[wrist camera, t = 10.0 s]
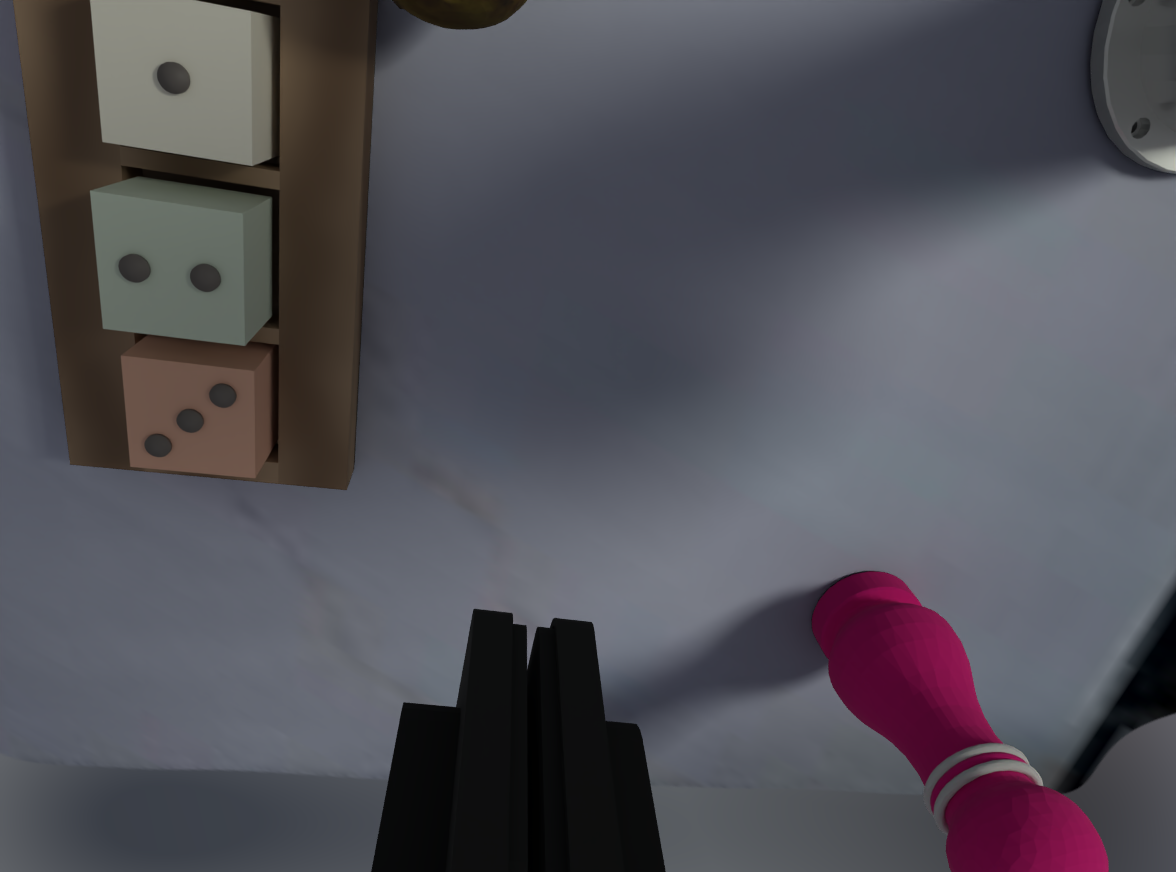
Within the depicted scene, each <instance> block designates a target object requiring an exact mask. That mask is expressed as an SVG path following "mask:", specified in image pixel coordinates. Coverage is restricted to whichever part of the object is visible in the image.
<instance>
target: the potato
mask: <svg viewBox="0 0 1176 872" xmlns="http://www.w3.org/2000/svg"><path fill="white" fill-rule="evenodd" d="M392 1H393V2H394V3H395V4H396V5H397V6H398V7H399V8H400V9H405V10H406V11H407V12H409V13H410V14H412V15H414V16H416V17H417V18H419V19H421V20H423V21H425V22H428V23H430V24H433V25H436V26H440V27H443V28H449V29H480V28H486V27H489V26H493V25H496V24H498V23H501V22H503V21H505V20H507V19H508V18H509V17H510V16H512V15H513V14H514V13H515V12H516V11H517V10H519V9H520V8H521V7H522V6H523V5H524V3H525V2H526V1H527V0H392Z"/></svg>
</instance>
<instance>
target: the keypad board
mask: <svg viewBox="0 0 1176 872" xmlns="http://www.w3.org/2000/svg"><path fill="white" fill-rule="evenodd" d="M196 1H201V2H207V3H212V4H217V5H222V6H227V7H232V8H237V9H243V10H248V11H253V12H257V13H261V14H265V15H269V16H273V17H278V18H280V155H279V156H276V157H274V158H271V159H269V160H266V161H264V162H261V163H259V164H256V165H254V166H249V165H243V164H237V163H231V162H224V161H218V160H212V159H206V158H199V157H193V156H187V155H181V154H175V153H168V152H162V151H156V150H150V149H143V148H137V147H131V146H125V145H118V144H112V143H106V142H102V132H101V120H100V109H99V97H98V86H97V74H96V63H95V51H94V39H93V28H92V16H91V5H90V0H13V4H14V12H15V21H16V29H17V37H18V45H19V53H20V61H21V69H22V77H23V85H24V93H25V102H26V110H27V118H28V126H29V134H30V142H31V150H32V158H33V166H34V175H35V183H36V191H37V199H38V207H39V215H40V223H41V231H42V239H43V248H44V256H45V264H46V272H47V280H48V288H49V296H50V304H51V312H52V320H53V329H54V337H55V345H56V353H57V361H58V369H59V377H60V385H61V393H62V402H63V410H64V418H65V426H66V434H67V442H68V450H69V458H70V465H81V466H92V467H103V468H113V469H124V470H135V471H146V472H157V473H167V474H178V475H189V476H200V477H211V478H221V479H232V480H243V481H254V482H265V483H275V484H286V485H297V486H308V487H319V488H329V489H340V490H347V487H348V485H349V482H350V479H351V476H352V473H353V470H354V463H355V443H356V424H357V404H358V384H359V365H360V345H361V326H362V306H363V287H364V267H365V247H366V228H367V208H368V189H369V169H370V150H371V130H372V111H373V91H374V71H375V52H376V32H377V13H378V0H196ZM137 176H140V177H147V178H153V179H160V180H166V181H173V182H179V183H186V184H192V185H199V186H205V187H212V188H218V189H225V190H231V191H238V192H244V193H250V194H257V195H263V196H270V197H272V317H271V318H270V319H269V320H268V321H267V322H266V323H265V324H264V325H263V327H262V328H261V329H260V330H259V331H258V332H257V333H256V334H255V335H254V336H253V338H252V339H251V340H250V341H252V342H260V343H268V344H276V345H279V433H278V441H277V442H276V444H275V446H274V447H273V449H272V451H271V452H270V454H269V456H268V458H267V459H266V461H265V463H264V464H263V466H262V468H261V470H260V471H259V473H258V475H257V476H256V478H245V477H235V476H224V475H213V474H202V473H192V472H181V471H170V470H160V469H149V468H138V467H130V457H129V445H128V434H127V422H126V410H125V399H124V387H123V376H122V364H121V355H122V354H123V353H125V352H126V351H127V350H129V349H130V348H131V347H133V346H134V345H135V344H136V343H138V342H139V341H140V340H142V339H143V338H144V337H146V336H147V335H148V334H142V333H134V332H126V331H118V330H109V329H103V323H102V312H101V302H100V291H99V281H98V270H97V260H96V250H95V239H94V229H93V218H92V208H91V197H90V191H91V190H94V189H97V188H101V187H104V186H107V185H111V184H114V183H117V182H121V181H124V180H127V179H131V178H134V177H137Z"/></svg>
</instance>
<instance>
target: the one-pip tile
mask: <svg viewBox="0 0 1176 872" xmlns="http://www.w3.org/2000/svg"><path fill="white" fill-rule="evenodd" d="M90 5H91V16H92V28H93V39H94V51H95V63H96V74H97V86H98V97H99V109H100V120H101V132H102V142H106V143H112V144H118V145H125V146H131V147H137V148H143V149H150V150H156V151H162V152H168V153H175V154H181V155H187V156H193V157H199V158H206V159H212V160H218V161H224V162H231V163H237V164H243V165H249V166H254V165H256V164H259V163H261V162H264V161H266V160H269V159H271V158H274V157H276V156H279V155H280V18H278V17H273V16H269V15H265V14H261V13H257V12H253V11H248V10H243V9H237V8H232V7H227V6H222V5H217V4H212V3H207V2H201V1H196V0H90Z"/></svg>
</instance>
